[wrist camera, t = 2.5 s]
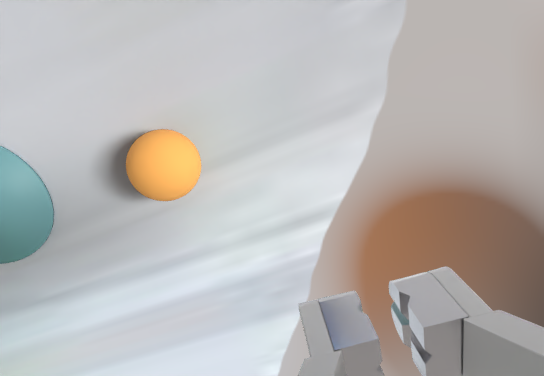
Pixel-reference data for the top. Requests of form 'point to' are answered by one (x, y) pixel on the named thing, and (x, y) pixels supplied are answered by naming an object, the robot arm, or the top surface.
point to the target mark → (22, 209)
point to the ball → (163, 165)
